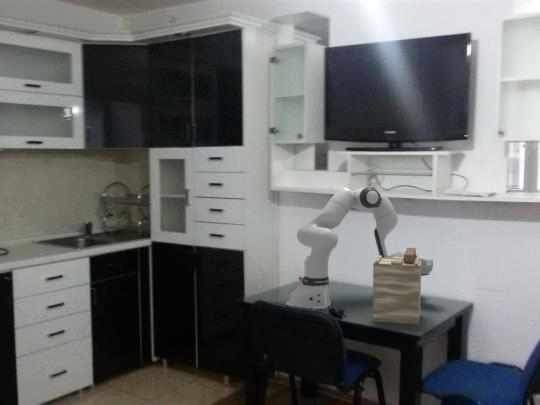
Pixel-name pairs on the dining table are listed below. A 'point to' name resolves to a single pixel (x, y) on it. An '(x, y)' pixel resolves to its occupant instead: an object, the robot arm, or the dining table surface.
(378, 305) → the slotted stand
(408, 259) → the rail bar
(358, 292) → the dining table surface
